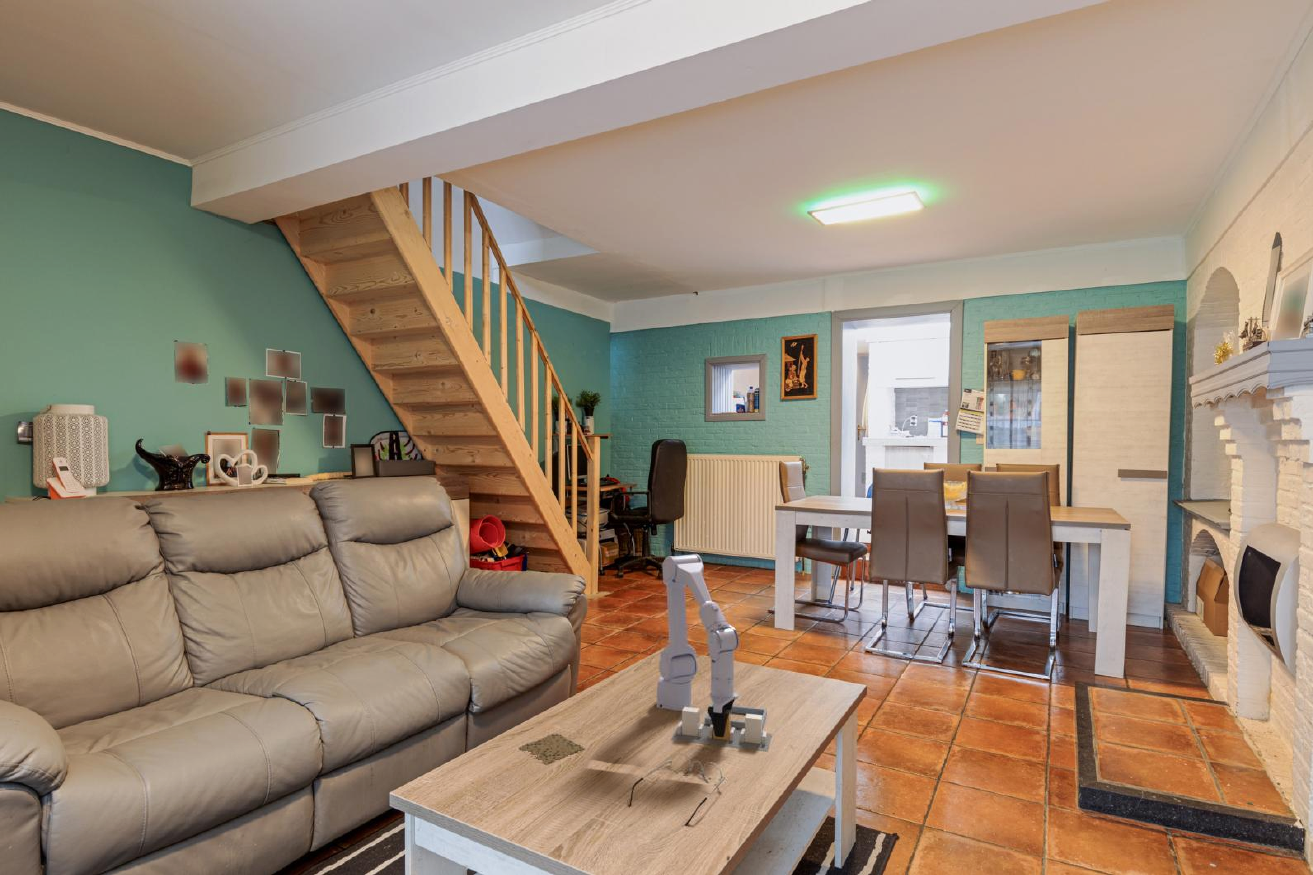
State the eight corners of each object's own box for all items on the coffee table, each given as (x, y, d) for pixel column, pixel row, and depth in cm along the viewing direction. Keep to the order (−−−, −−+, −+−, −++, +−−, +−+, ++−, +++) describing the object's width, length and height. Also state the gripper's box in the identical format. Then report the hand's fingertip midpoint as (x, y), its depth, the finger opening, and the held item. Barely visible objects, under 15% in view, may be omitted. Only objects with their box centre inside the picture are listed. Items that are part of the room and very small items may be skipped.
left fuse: (682, 734, 175) (682, 710, 175) (684, 729, 178) (684, 706, 178) (697, 735, 174) (697, 712, 174) (699, 731, 177) (699, 708, 177)
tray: (704, 729, 182) (704, 717, 182) (711, 713, 192) (711, 703, 192) (762, 736, 178) (762, 724, 178) (766, 720, 188) (766, 709, 188)
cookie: (517, 750, 170) (517, 746, 170) (557, 735, 179) (557, 731, 179) (545, 767, 162) (545, 763, 162) (586, 750, 170) (586, 746, 170)
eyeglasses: (730, 788, 153) (730, 765, 153) (691, 830, 137) (691, 805, 137) (667, 769, 161) (667, 748, 161) (623, 807, 145) (623, 783, 145)
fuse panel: (670, 745, 172) (671, 731, 172) (679, 728, 182) (679, 715, 182) (767, 757, 166) (768, 743, 166) (771, 739, 176) (771, 725, 176)
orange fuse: (713, 737, 173) (713, 714, 173) (714, 733, 176) (715, 710, 176) (728, 739, 172) (729, 715, 172) (730, 735, 175) (730, 711, 175)
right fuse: (745, 741, 171) (745, 717, 171) (746, 737, 174) (746, 713, 174) (761, 743, 170) (761, 719, 170) (762, 739, 173) (762, 715, 173)
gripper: (734, 688, 166) (733, 744, 166) (742, 668, 180) (741, 719, 180) (705, 685, 168) (704, 740, 168) (715, 665, 182) (714, 716, 182)
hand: (721, 729), depth 174 cm, fingers open, 7 cm apart
